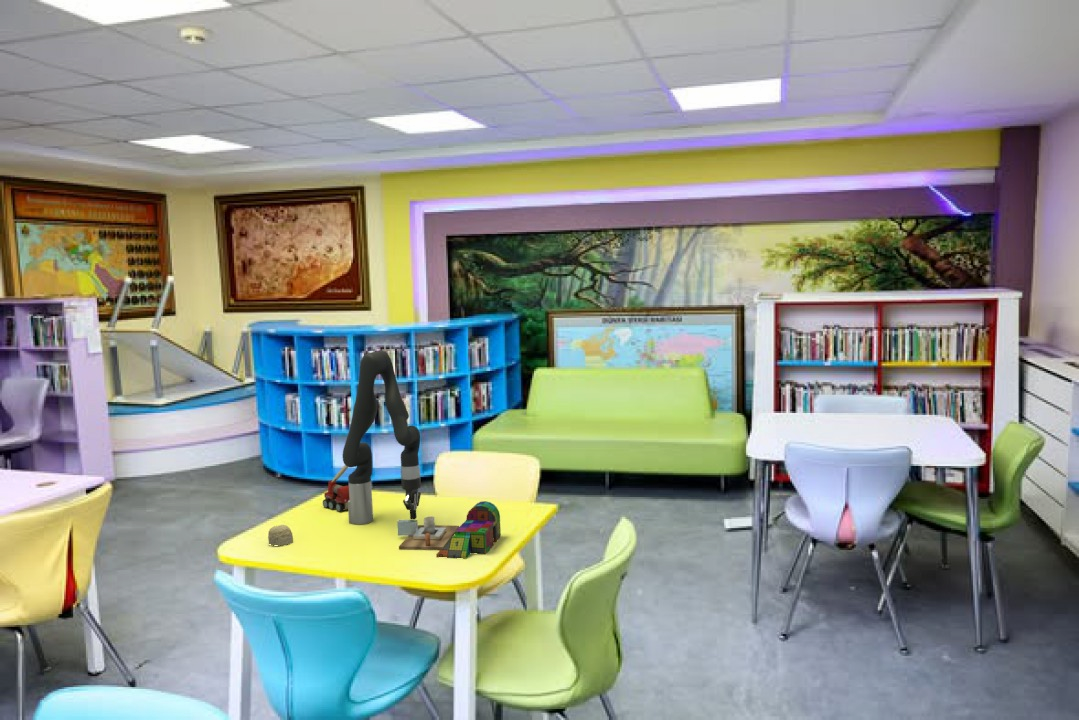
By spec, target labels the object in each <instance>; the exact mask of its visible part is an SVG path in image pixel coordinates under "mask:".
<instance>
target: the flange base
mask: <svg viewBox="0 0 1079 720" xmlns="http://www.w3.org/2000/svg"><path fill="white" fill-rule="evenodd" d="M435 523H436V521H435V517H434V516H425V517H423V524H418V530H419V529H420V528H421V527H424V530H425V533H424V534H425V539H413V536H406V538H405V539H404V540H403V541H402V543H400V544H399V545H398V550H400V551H402V550H404V551H405V550H407V551H440V550H441V549H442V548H443V547H444V546H445V545H446V544H447V543H448V542H449V541H450V539H451V538H452V537H453V536H454V534H455V530H457V529H458V528H459V527H460V525H449V524H448V525H445V524H444V525H443V524H441V525H439V524H438V525H436V524H435ZM435 528H446V532H445V533H444V534H443V536H442V537H441V538H440V540H434V539H430V534H436V533H435Z"/></svg>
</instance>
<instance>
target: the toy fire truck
mask: <svg viewBox="0 0 1079 720" xmlns="http://www.w3.org/2000/svg"><path fill="white" fill-rule="evenodd" d="M348 468H349V467H347V466H346V465H345V464H344V465H343V467H342V468H341V469H340V470H339V471H338V472H337V474H335V476H334V477H333V479H332V480H329V481H328V482H327V483H328V486H327V487H328V488H327V492H324V498H325V499H323V500H322V506H323V508H324V509H329V510H330V511H332V510H336V511H337V513H341V512H344V511H346V510H348V501H349V500H350V499H349V485H345V486H343V485H339V484H337V481H338V480H339V479H340V478H341V476H343V474H344V473H346V471H347V470H348Z"/></svg>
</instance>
